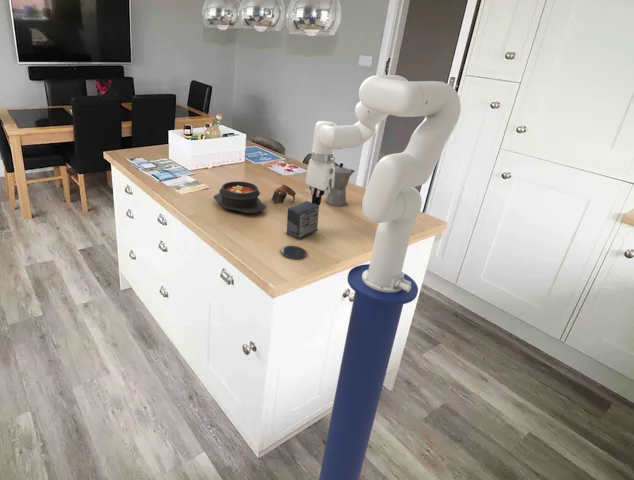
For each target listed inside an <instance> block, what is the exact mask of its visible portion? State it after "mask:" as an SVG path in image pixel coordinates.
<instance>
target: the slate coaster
mask: <svg viewBox="0 0 634 480" xmlns="http://www.w3.org/2000/svg"><path fill="white" fill-rule="evenodd" d="M281 254H282V255H283V256H284V257H285V258H288V259H292V260H300V259H303V258H305V256H306V251H305V249H304V248H302V247H299V246H296V245H287V246H284V247H283V248H282V249H281Z"/></svg>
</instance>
